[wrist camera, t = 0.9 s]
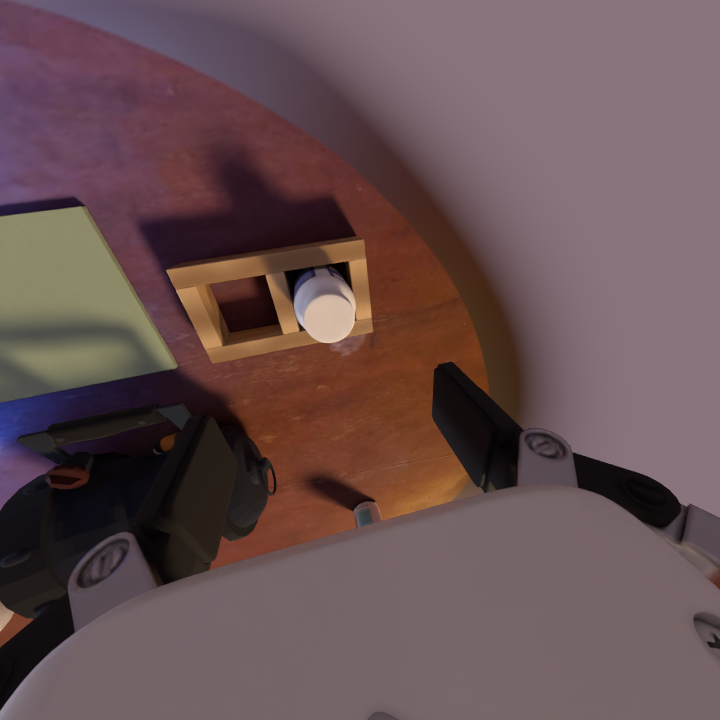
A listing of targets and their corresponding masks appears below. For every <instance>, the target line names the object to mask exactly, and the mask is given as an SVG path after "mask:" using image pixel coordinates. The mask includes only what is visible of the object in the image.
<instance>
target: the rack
mask: <svg viewBox="0 0 720 720" xmlns="http://www.w3.org/2000/svg"><path fill="white" fill-rule="evenodd" d="M339 262H344V263H345V270H346V277H347V284H348V286H349V287H350V289H351V290H352V292H353V295H354V297H355V302H356V310H355V322H354V326H353V328H352V330H351V332H350V333H349V334H348V335H347V336H346V337H349V336H354V335H359V334H364V333H369V332H373V326H372V316H371V306H370V296H369V285H368V275H367V265H366V256H365V246H364V239H362V238H360V237H358V236H353V237H347V238H340V239H334V240H327V241H321V242H314V243H308V244H301V245H294V246H288V247H281V248H275V249H268V250H262V251H255V252H249V253H242V254H236V255H229V256H222V257H216V258H209V259H203V260H196V261H190V262H183V263H180V264H178V265H175V266H173V267H171V268H169V269H167V270H166V271H167V273H168V275H169V277H170V279H171V281H172V283H173V285H174V287H175V289H176V291H177V293H178V295H179V297H180V299H181V301H182V303H183V305H184V307H185V309H186V311H187V313H188V315H189V317H190V319H191V321H192V324H193V326H194V328H195V330H196V332H197V334H198V336H199V338H200V340H201V342H202V344H203V346H204V348H205V349H206V352H207V354H208V356H209V358H210V360H211V362H212V363H217V362H222V361H227V360H232V359H238V358H243V357H248V356H253V355H258V354H263V353H268V352H273V351H278V350H283V349H288V348H293V347H298V346H303V345H308V344H314V343H319V342H320V341H318V340H316V339H314V338H313V337H311V336H310V335H309V334H308V332H307V331H306V329H305V328H304V327H303V326H302V325H301V324H300V323H299V321H298V319H297V317H296V314H295V310H294V297H293V293H292V289H291V285H290V281H289V277H288V273H287V271H290V270H296V269H302V268H308V267H314V266H321V265H327V264H333V263H339ZM265 274H266V279H267V282H268V285H269V289H270V292H271V295H272V299H273V302H274V305H275V308H276V312H277V315H278V318H279V322H280V324H276V325H271V326H265V327H260V328H255V329H249V330H244V331H238V332H233V333H230V332H229V330H228V327H227V325H226V323H225V320H224V318H223V316H222V313H221V311H220V308H219V306H218V304H217V301H216V299H215V297H214V294H213V292H212V290H211V287H210V285H209V284H210V283H217V282H223V281H229V280H235V279H241V278H247V277H253V276H259V275H265Z"/></svg>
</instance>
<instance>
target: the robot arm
mask: <svg viewBox="0 0 720 720" xmlns="http://www.w3.org/2000/svg"><path fill="white" fill-rule="evenodd" d="M432 417H433V420H434V422H435V423H436V425H437V427H438V428H439V430H440V431H441V433H442V434H443V436H444V437H445V439H446V440H447V442H448V444H449V445H450V447H451V448H452V450H453V451H454V453H455V454H456V456H457V458H458V459H459V461H460V462H461V464H462V465H463V467H464V468H465V470H466V471H467V473H468V475H469V476H470V478H471V479H472V481H473V482H474V484H475V485H476V486H477V487H481V488H482V490H483V491H484V493H483V494H479V495H476V496H472V497H468V498H464V499H460V500H456V501H452V502H449V503H445V504H441V505H438V506H434V507H431V508H427V509H423V510H420V511H416V512H412V513H409V514H405V515H401V516H398V517H394V518H391V519H387V520H383V521H380V522H376V523H373V524H369V525H366V526H362V527H358V528H355V529H351V530H348V531H344V532H341V533H337V534H334V535H330V536H326V537H323V538H319V539H316V540H312V541H309V542H305V543H302V544H298V545H295V546H291V547H288V548H284V549H281V550H277V551H274V552H270V553H267V554H263V555H260V556H256V557H253V558H249V559H246V560H242V561H239V562H235V563H232V564H229V565H225V566H222V567H219V568H216V569H212V570H209V569H210V565H211V561H214V560H215V558H216V556H217V553H218V549H219V545H220V541H221V536H222V532H223V528H224V524H225V520H226V516H227V511H228V507H229V503H230V499H231V495H232V491H233V486H234V482H235V478H236V474H237V470H238V462H237V459H236V458H235V456H234V454H233V452H232V450H231V449H230V447H229V445H228V443H227V441H226V439H225V438H224V436H223V434H222V432H221V430H220V429H219V427H218V425H217V423H216V421H215V419H214V418H213V417H209V416H208V415H207V414H203V415H198V416H193V417H190V418H188V419H187V421H186V423H185V425H184V427H183V429H182V430H181V432H180V434H179V436H178V438H177V440H176V441H175V443H174V445H173V447H172V449H171V451H170V453H169V454H168V456H167V458H166V460H165V462H164V464H163V466H162V467H161V469H160V471H159V473H158V475H157V477H156V479H155V480H154V482H153V484H152V486H151V488H150V490H149V492H148V493H147V495H146V497H145V499H144V501H143V503H142V504H141V506H140V508H139V510H138V512H137V514H136V516H135V517H134V519H133V521H132V525H131V527H130V529H129V531H128V532H123V533H117V534H115V535H113V536H110V537H108V538H107V539H105V540H103V541H102V542H100V543H99V544H97V545H96V546H95V547H94V548H93V549H91V550H90V551H89V552H88V553H87V554H86V555H85V556H84V557H83V558H82V559H81V561H80V562H79V563H78V565H77V566H76V567H75V569H74V570H73V572H72V574H71V576H70V579H69V581H68V592H67V593H65V594H64V595H63V596H62V597H61V598H59V599H58V600H57V601H56V602H55V603H53V604H52V605H51V606H50V607H49V608H47V609H46V610H45V611H44V612H43V613H41V614H40V615H39V616H38V617H37V618H35V619H34V620H33V621H32V622H31V623H29V624H28V625H27V626H26V627H24V628H23V629H22V630H21V631H20V632H18V633H17V634H16V635H15V636H14V637H12V638H11V639H10V640H9V641H8V642H6V643H5V644H4V645H3V646H2V647H0V720H720V518H719V517H717V516H715V515H713V514H711V513H709V512H707V511H704V510H702V509H700V508H698V507H696V506H694V505H692V504H689V505H688V506H687V507H686V506H684V505H682V504H680V503H679V501H678V499H677V498H676V497H675V496H674V494H673V493H672V492H671V491H670V490H669V489H667V488H666V487H665V486H663V485H662V484H660V483H659V482H657V481H656V480H654V479H652V478H650V477H648V476H645V475H643V474H640V473H637V472H634V471H630V470H627V469H624V468H621V467H618V466H614V465H611V464H608V463H605V462H601V461H599V460H595V459H592V458H589V457H586V456H583V455H579V454H576V453H573V452H572V450H571V447H570V445H569V444H568V443H567V442H566V441H565V440H564V439H563V438H562V437H560V436H559V435H557V434H555V433H553V432H551V431H548V430H545V429H540V428H529V429H526V430H523V429H522V428H521V427H520V426H519V425H518V424H517V423H515V421H514V420H513V419H512V418H511V417H510V416H508V415H507V414H506V413H505V412H504V411H503V410H502V409H501V408H500V407H499V406H498V405H497V404H496V403H495V402H494V401H493V400H492V399H491V398H490V397H489V396H488V395H487V394H486V393H485V392H484V391H483V390H482V389H480V388H479V387H478V386H477V385H476V384H475V383H474V382H473V381H472V380H470V379H469V378H468V377H467V376H466V375H465V374H464V373H463V372H462V371H461V370H460V369H459V368H458V367H457V366H456V365H455V364H454V363H453V362H447V363H443V364H439V365H438V366H437V368H435V370H434V383H433V405H432Z"/></svg>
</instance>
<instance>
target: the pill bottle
mask: <svg viewBox="0 0 720 720" xmlns="http://www.w3.org/2000/svg"><path fill="white" fill-rule="evenodd" d="M294 310H295V314H296V317H297V319H298V321H299V323H300V324H301V325H302V326H303V327H304V328H305V329H306V331H307V332H308V334H309V335H310V336H311V337H313V338H314V339H316V340H318V341H320V342H324V343H333V342H337V341H340V340H342V339H343V338H345V337H346V336H347V335H348V334H349V333H350V332H351V330H352V328H353V326H354V322H355V310H356V302H355V297H354V295H353V292H352V290H351V289H350V287H349V286H348V284H347V283H346V282H345V280H344V279H343V277H342V276H341V274H340V273H339V272H338V271H337V270H336V269H334V268H333V267H331V266H329V265H321V266H314V267H308V268H304V269H303V270H302V271H301V272H300V273H299V275H298V276H297V278H296V281H295V286H294Z"/></svg>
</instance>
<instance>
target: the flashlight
mask: <svg viewBox="0 0 720 720" xmlns="http://www.w3.org/2000/svg"><path fill="white" fill-rule="evenodd" d="M190 417H193V416H192V415H191V414H190V412H189V411H188V410H187V409H186V407H185V406H184V405H183V403H181V402H180V403H175V404H171V405H166V406H161V407H159V406H158V405H157V404H154V405H149V406H143V407H137V408H132V409H128V410H123V411H118V412H113V413H108V414H103V415H98V416H93V417H88V418H83V419H78V420H72V421H67V422H62V423H57V424H53V425H51V426H49V427H48V429H47V430H44V431H40V432H35V433H30V434H26V435H21V436H20V437H19V438H17V442H19V443H21V444H23V445H24V446H26V447H28V448H30V449H32V450H34V451H35V452H37V453H39V454H41V455H43V456H44V457H46V458H48V459H50V460H52V461H54V462H55V463H57V464H59V465H58V466H55V467H54V468H52V469H51V470H49V471H48V472H47V473H46V474H43V475H41V476H38V477H37V478H35V479H34V480H32V481H31V482H29V483H28V484H26V485H25V486H23V487H22V488H20V489H19V490H18V491H17V492H16V493H15V494H14V495H13V496H12V497H11V498H10V499H9V500H8V501H7V502H6V503H5V504H4V506H3V507H2V509H1V511H0V602H1V603H2V604H3V605H4V606H5V607H6V608H7V609H9V610H11V611H13V612H15V613H17V614H19V615H21V616H23V617H25V618H33V619H35V618H37V617H38V616H39V615H40V614H41V613H43V612H44V611H45V610H46V609H47V608H49V607H50V606H51V605H52V604H53V603H55V602H56V601H57V600H58V599H59V598H61V597H62V596H63V595H64V594H65V593H67V592H68V581H69V579H70V576H71V574H72V572H73V570H74V569H75V567H76V566H77V565H78V563H79V562H80V561H81V559H82V558H83V557H84V556H85V555H86V554H87V553H88V552H89V551H90V550H91V549H93V548H94V547H95V546H96V545H97V544H99V543H100V542H102V541H103V540H105V539H107V538H108V537H110V536H113V535H115V534H117V533H123V532H128V531H129V529H130V527H131V525H132V521H133V519H134V517H135V516H136V514H137V512H138V510H139V508H140V506H141V504H142V503H143V501H144V499H145V497H146V495H147V493H148V492H149V490H150V488H151V486H152V484H153V482H154V480H155V479H156V477H157V475H158V473H159V471H160V469H161V467H162V466H163V464H164V462H165V460H166V458H167V456H168V454H169V453H170V451H171V449H172V447H173V445H174V443H175V441H176V440H177V438H178V436H179V434H180V432H179V433H176V434H172V435H169V436H166V437H164V438H163V439H161V440H160V441H159V442H157V443H156V445H155V448H154V450H153V451H154V453H155V454H158V455H156V456H152V455H148V454H146V455H139V456H134V457H131V456H129V455H126V454H121V453H115V452H112V453H103V454H100V453H96V454H90V453H88V452H81V451H80V452H75V453H73V454H71V455H70V454H69V453H67V452H65V451H64V450H62V449H61V448H59V447H60V446H63V445H67V444H71V443H75V442H81V441H87V440H94V439H99V438H103V437H107V436H111V435H114V434H117V433H121V432H124V431H127V430H130V429H133V428H137V427H143V426H149V425H153V424H156V423H160V422H163V421H166V420H167V419H168V418H169V419H170V420H171V421H172V422H173V423H174V424H175V425H176V426H177V427H178V428H179V429H181V430H182V429H183V427H184V425H185V423H186V421H187V419H188V418H190ZM219 429H220V430H221V432H222V434H223V436H224V438H225V439H226V441H227V443H228V445H229V447H230V449H231V450H232V452H233V454H234V456H235V458H236V459H237V462H238V470H237V474H236V478H235V482H234V486H233V491H232V495H231V499H230V503H229V507H228V511H227V516H226V520H225V524H224V528H223V532H222V536H223V537H225V538H226V539H228V540H229V541H233V540H238V539H240V538H243V537H245V536H247V535H248V534H250V533H251V532H252V531H253V530H254V528H255V526H256V524H257V521H258V518H259V516H260V515H261V513H262V512H263V510H264V508H265V506H266V503H267V499H268V494H269V495H270V496H271V495H274V494H275V492H276V486H277V485H276V477H275V472H274V469H273V467H272V464H271V463H270V461H269V460H268V459H267V458H266V457H263V458H262V456H261V454H260V452H259V450H258V448H257V446H256V445H255V443H254V442H253V441H252V440H251V439H250V438H249V437H248V436H247V435H245V434H244V433H243V432H242V431H241V430H240V429H239V428H237V427H235V426H232V425H229V426H225V427H222V428H219ZM156 451H157V452H156ZM158 452H165V453H158ZM270 468H271V470H272V473H273V478H274V491H273V493H271V492H270V491H269V490H268V476H267V471H268V470H269V469H270Z"/></svg>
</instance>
